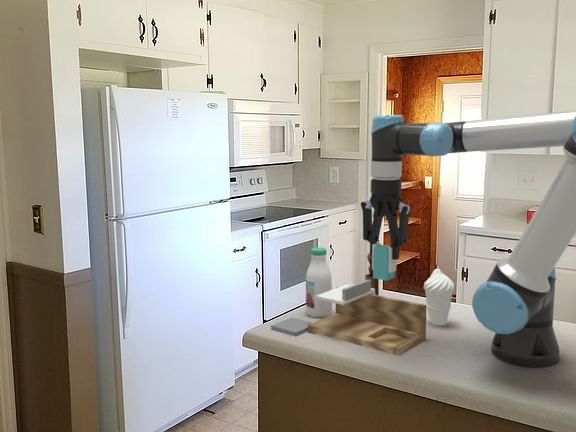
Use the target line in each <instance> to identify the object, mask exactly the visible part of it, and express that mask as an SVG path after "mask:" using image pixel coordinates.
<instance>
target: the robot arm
mask: <svg viewBox="0 0 576 432" xmlns="http://www.w3.org/2000/svg"><path fill="white" fill-rule="evenodd" d="M371 126H372V127H371V134H370V136H371V160H370V161H371V162H370V177H371V178H372V179H371V180H370V193H371V196H370V198H369V200H367V201H362V202H361V203H360V208H361V210H362V239H363V240H364V241H367V242H368V243H369V253H370V255H371V256H372V269H373V252H374V247H376V246H379V245H382V243H381V242H380V241H381V240H380V239H379V238H380V233H381V230H382V229H381V228H382V223H383V219H384V217H385V218H386V221H387V224H388V231H389V238H390V244H391V245H389V246H390V247H389V257H388V273H392V272H394V271H395V272H397V260H399V259H400V248H401V246H404V245H406V244H407V243H408V235H409V220H410V219H409V218H410V213H411V211H412V209H413V208H412V206H411V205H407V204H405V203H403V201H402V198H401V195H402V179H401V177H402V176H403V175H402V172H403V171H402V170H403V156H404V155H406V156H407V155H410V156H411V155H413V156H428V157H431V158H432V157H443V156H446V155H448V154H457V153H473V152H488V151H504V150H507V151H508V150H520V149H523V150H524V149H537V148H542V149H543V148H554V147H555V148H556V147H562V150H563V153H564V156H565V160H564V161H563V163H562V165H561V167H560V169H559V171H558V172H557V174H556V176H555V177H554V179H553V181H552V183H550V186H549V187H548V189H547V191H546V193H545V195H544V197H543V198H542V199H541V202H540V203H539V205H538V206H537V208H536V210H535V212H534V214H533V215H532V217H531V218H530V221H529V222H528V224H527V225H526V228H525V229H524V231H523V233H522V235H520V238H519V239H518V241H517V243H516V244H515V246H514V248H513V250H512V252H511V253H510V255H509V256H508V257H506V258H502V259H499V260H498V262H497V263H496V264H495V266H494V267H493V270H492V271H491V273H490V274H489V276H488V279H487V280H486V282H484V283H482V284H480V285H479V286H478V287H477V288H476V290H475V291H474V293H473V296H472V301H471V303H472V304H471V305H472V310H473V312H474V315H475V317H476V319H477V321H478V322H479V323H480V324H481V325H482V326H483V327H484V328H486V329H487V330H489V331H490V332H492V333H494V335H493V337H492V340H491V350H490V351H491V353H492V355H493V356H494V357H496V358H497V359H499V360H501V361H503V362H506V363H509V364H513V365H517V366H523V367H532V368H534V367H535V368H542V367H548V366H549V367H550V366H552V365H553V366H554V365H555V364H557V363H558V362H559V361H560V352H561V351H560V347H559V344H558V340H557V337H556V333H555V329H554V326H553V325H554V309H555V294H556V293H555V292H556V291H555V290H556V280H557V277H556V268H555V267H556V266H557V263H558V262H559V260H560V259H561V257H562V255H563V254H564V252H565V251H566V249H567V247H568V246H569V244H570V243H571V242H572V239H573V238H574V236H575V235H576V110H575V109H574V110H566V111H557V112H556V111H555V112H546V113H545V112H544V113H535V114H525V115H515V116H505V117H495V118H483V119H476V120H468V121H465V120H464V121H455V122H417V123H416V122H415V123H413V122H412V123H411V122H410V123H409V122H405V121H404V116H403V115H402V114H377V115H375V116H374V117H373V119H372V124H371ZM372 208H373V210H374V211H373V210H372ZM398 210H399V217H398ZM398 220H399V221H398Z"/></svg>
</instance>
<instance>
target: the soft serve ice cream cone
mask: <svg viewBox="0 0 576 432" xmlns="http://www.w3.org/2000/svg"><path fill="white" fill-rule="evenodd" d="M423 284H424V285H423V289H424V291H425V296H426V297H425V298H426V299H425V300H426V304H425V305H426V310H427V314H428V319H429V324H430V325H432V326H434V327H435V326H436V327H444V326H446V325H447V322H448V318H449V313H450V310H451V307H452V305H451V302H452V297H453V291H454V290H455V283H454V282H453V280H451V278H449V277H448V276H447V275H446V274H445V273H444V272H442V270H441V269H440V268H435V269H434V270H433V271H432V273H431V275H430V276H429V277H428V278H427V280H425V281H424V283H423Z"/></svg>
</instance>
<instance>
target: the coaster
mask: <svg viewBox="0 0 576 432" xmlns="http://www.w3.org/2000/svg"><path fill="white" fill-rule="evenodd" d="M311 323H313V321H308V320H305V319H304V320H303V319H300V318H297V317H293V316H292V317H289V318H287V319H284V320H281V321H278V322H277V323H274V324H272V325H270V328H271V330H274V331H277V332H280V333H284V334H287V335H291V336H294V337H298V336H301V335H302V334H304V333H306V332H308V325H309V324H311Z"/></svg>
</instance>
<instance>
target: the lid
mask: <svg viewBox="0 0 576 432" xmlns="http://www.w3.org/2000/svg"><path fill="white" fill-rule="evenodd" d="M337 287H338V288H337ZM337 287H335V288H333V289H332V290H330V291H327V292H325V293H322V294H319V295H317V296H316V299H319V300H323V301H328V302H332V304H333V303H334V304H336V303H337V304H341V305H345V304H347V303H349V302H352V301H354V300H357V299H359V298H361V297H364V296H366V295H369V294H375V289H373V288H371V280H365V279H364V280H363V281H360V282H358V283H355V284H352V283H347V284H344V285H341V286H337Z"/></svg>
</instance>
